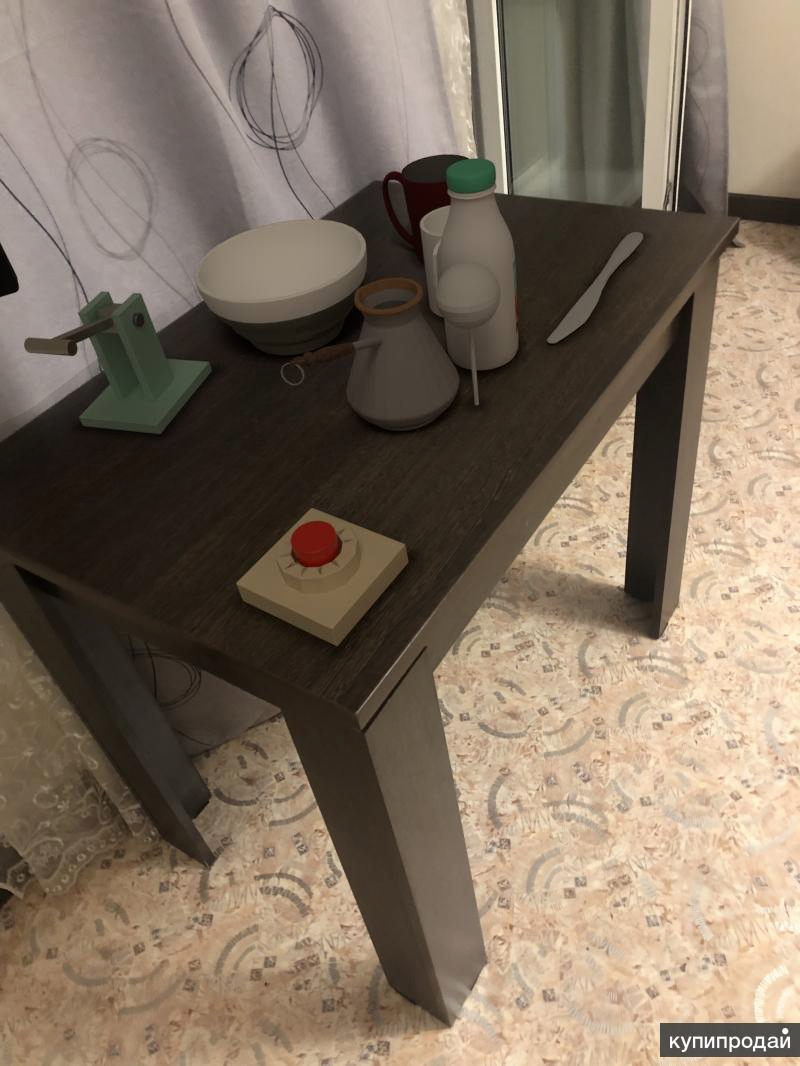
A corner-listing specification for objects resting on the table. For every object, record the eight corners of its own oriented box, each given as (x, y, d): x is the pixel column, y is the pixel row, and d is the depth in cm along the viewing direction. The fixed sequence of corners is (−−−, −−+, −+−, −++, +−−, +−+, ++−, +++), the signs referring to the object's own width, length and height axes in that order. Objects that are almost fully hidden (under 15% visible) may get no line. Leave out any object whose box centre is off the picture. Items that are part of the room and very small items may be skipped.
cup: (408, 333, 94) (396, 251, 87) (442, 282, 102) (434, 202, 95) (475, 339, 91) (469, 255, 84) (506, 286, 99) (502, 205, 92)
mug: (380, 267, 107) (366, 182, 99) (404, 236, 113) (393, 154, 105) (467, 271, 103) (460, 183, 95) (487, 239, 108) (482, 154, 101)
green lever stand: (160, 434, 86) (119, 336, 78) (82, 426, 89) (35, 331, 81) (212, 370, 94) (179, 275, 86) (139, 365, 97) (101, 272, 89)
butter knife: (653, 233, 102) (630, 228, 103) (565, 346, 87) (539, 339, 89) (652, 237, 103) (629, 233, 104) (564, 350, 88) (539, 344, 89)
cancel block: (337, 647, 63) (327, 613, 60) (242, 600, 67) (229, 568, 65) (408, 562, 68) (402, 528, 65) (316, 525, 73) (307, 492, 70)
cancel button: (321, 574, 63) (316, 558, 62) (286, 558, 65) (281, 543, 64) (348, 544, 65) (344, 529, 64) (314, 530, 67) (309, 515, 66)
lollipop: (488, 427, 80) (478, 287, 69) (436, 414, 82) (419, 277, 72) (516, 393, 83) (510, 253, 73) (465, 381, 86) (452, 245, 75)
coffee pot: (386, 368, 89) (363, 237, 79) (480, 387, 84) (470, 250, 74) (273, 489, 77) (230, 353, 67) (377, 520, 72) (347, 378, 62)
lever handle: (70, 363, 76) (64, 337, 75) (27, 359, 77) (20, 334, 76) (146, 327, 86) (142, 304, 84) (107, 325, 87) (102, 302, 86)
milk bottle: (515, 372, 86) (508, 180, 72) (443, 373, 87) (422, 185, 73) (521, 333, 91) (515, 147, 77) (453, 334, 93) (435, 153, 79)
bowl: (288, 280, 108) (271, 209, 101) (410, 308, 98) (400, 231, 92) (184, 356, 97) (157, 283, 90) (310, 395, 88) (290, 316, 81)
